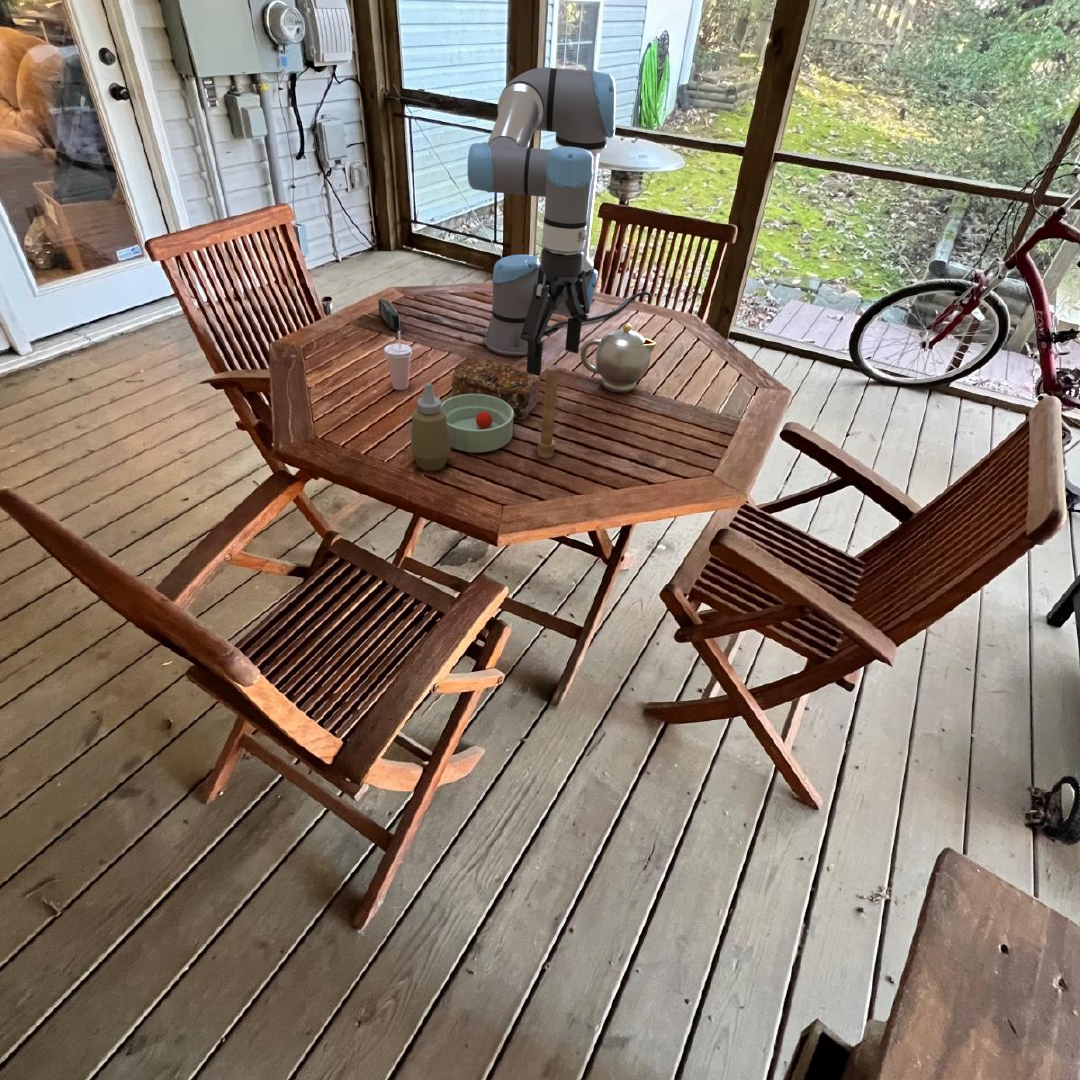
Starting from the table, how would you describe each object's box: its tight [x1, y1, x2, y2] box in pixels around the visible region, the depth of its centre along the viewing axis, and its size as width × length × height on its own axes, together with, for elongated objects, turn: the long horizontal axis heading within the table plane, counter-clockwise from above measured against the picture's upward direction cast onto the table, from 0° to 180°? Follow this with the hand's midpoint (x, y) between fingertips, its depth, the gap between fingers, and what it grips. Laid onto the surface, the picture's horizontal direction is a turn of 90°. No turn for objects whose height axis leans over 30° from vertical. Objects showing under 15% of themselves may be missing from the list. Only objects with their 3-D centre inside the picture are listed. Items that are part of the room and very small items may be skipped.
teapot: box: [579, 323, 657, 394], centre depth 170 cm, size 18×14×16 cm
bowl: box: [441, 394, 514, 454], centre depth 150 cm, size 16×16×6 cm
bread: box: [451, 357, 541, 421], centre depth 160 cm, size 19×11×10 cm, turn 70°
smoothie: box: [383, 330, 413, 391], centre depth 162 cm, size 6×6×14 cm
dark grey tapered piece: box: [377, 299, 403, 334], centre depth 193 cm, size 5×3×15 cm
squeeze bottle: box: [410, 382, 452, 472], centre depth 136 cm, size 8×8×18 cm
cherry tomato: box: [476, 412, 492, 428], centre depth 152 cm, size 4×4×4 cm
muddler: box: [536, 364, 560, 459], centre depth 141 cm, size 4×4×20 cm
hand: (553, 362), depth 134 cm, fingers open, 13 cm apart
